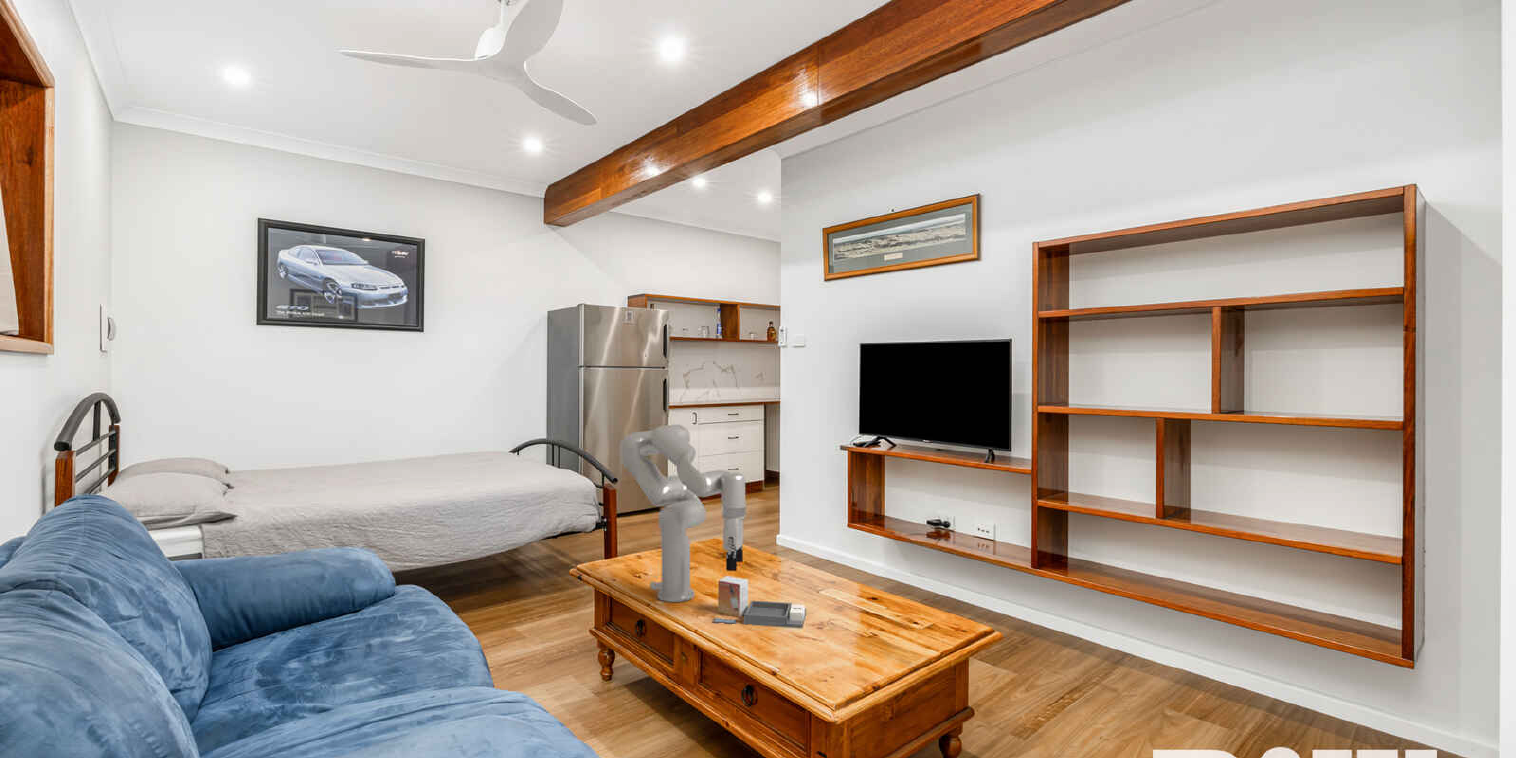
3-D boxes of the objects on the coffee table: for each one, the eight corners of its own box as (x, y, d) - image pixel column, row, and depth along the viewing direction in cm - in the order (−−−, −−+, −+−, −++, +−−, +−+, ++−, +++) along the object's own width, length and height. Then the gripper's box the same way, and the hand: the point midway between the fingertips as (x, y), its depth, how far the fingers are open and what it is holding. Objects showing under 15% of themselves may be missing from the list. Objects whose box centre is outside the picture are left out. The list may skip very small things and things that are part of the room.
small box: (717, 613, 215) (717, 580, 214) (726, 607, 220) (726, 575, 219) (739, 617, 211) (739, 584, 211) (748, 611, 216) (748, 579, 215)
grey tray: (743, 624, 206) (743, 612, 205) (750, 608, 218) (750, 597, 218) (802, 628, 203) (802, 616, 202) (806, 612, 215) (806, 601, 215)
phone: (712, 624, 207) (712, 621, 207) (714, 620, 210) (714, 617, 210) (734, 626, 205) (734, 623, 205) (737, 622, 208) (737, 619, 208)
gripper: (727, 506, 223) (728, 558, 224) (716, 518, 206) (717, 574, 206) (750, 506, 222) (751, 558, 222) (740, 518, 205) (741, 574, 205)
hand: (734, 566), depth 214 cm, fingers open, 9 cm apart
